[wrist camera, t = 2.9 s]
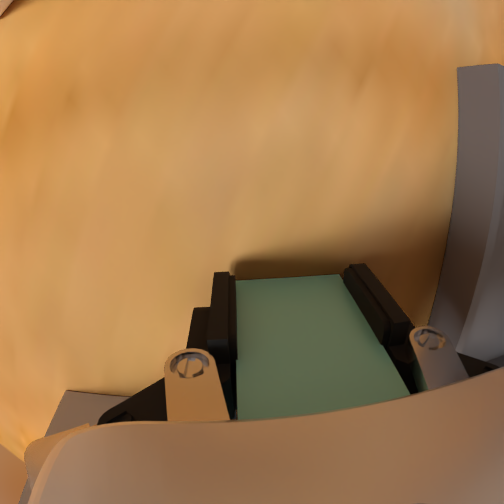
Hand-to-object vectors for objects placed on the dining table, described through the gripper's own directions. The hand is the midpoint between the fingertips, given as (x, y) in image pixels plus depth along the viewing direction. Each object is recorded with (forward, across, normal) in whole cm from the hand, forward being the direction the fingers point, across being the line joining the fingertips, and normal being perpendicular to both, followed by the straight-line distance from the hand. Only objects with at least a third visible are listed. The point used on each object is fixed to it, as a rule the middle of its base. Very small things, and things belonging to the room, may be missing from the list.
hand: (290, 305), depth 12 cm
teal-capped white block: (+1, 0, +6) cm, 6 cm away
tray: (+1, -11, -1) cm, 11 cm away
